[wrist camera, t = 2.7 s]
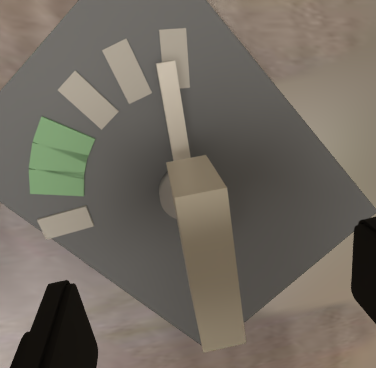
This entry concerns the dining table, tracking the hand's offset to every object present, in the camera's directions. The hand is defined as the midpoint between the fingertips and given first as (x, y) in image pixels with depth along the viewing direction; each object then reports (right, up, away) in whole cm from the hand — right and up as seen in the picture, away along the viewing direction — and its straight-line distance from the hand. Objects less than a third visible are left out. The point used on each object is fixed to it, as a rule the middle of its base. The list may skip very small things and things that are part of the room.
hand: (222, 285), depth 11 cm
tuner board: (-1, +3, +11) cm, 12 cm away
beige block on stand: (-2, +5, +9) cm, 10 cm away
